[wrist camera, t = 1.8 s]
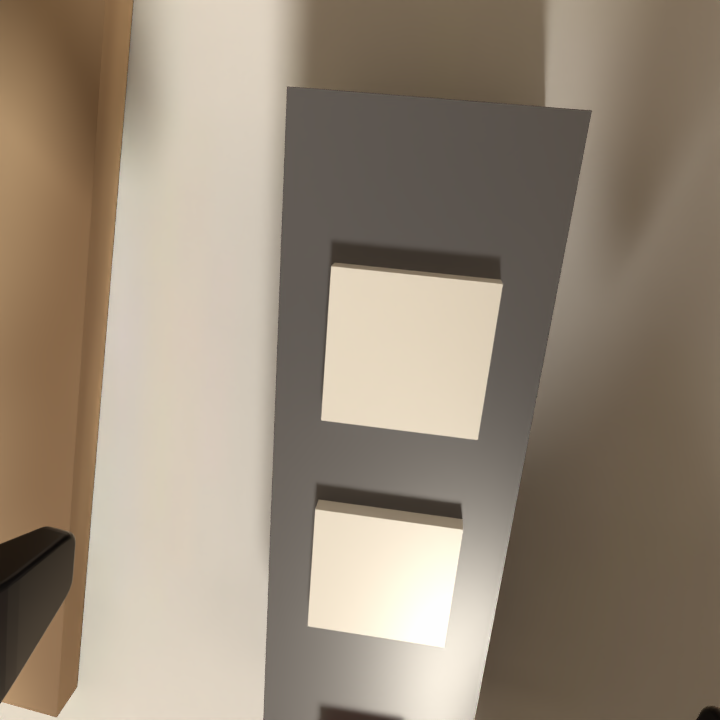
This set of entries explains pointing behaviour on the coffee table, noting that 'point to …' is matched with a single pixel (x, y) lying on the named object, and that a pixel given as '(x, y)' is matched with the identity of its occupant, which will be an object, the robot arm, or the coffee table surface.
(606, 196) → the coffee table surface
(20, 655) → the robot arm
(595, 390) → the coffee table surface
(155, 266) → the coffee table surface
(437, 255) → the power strip
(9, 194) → the tray
